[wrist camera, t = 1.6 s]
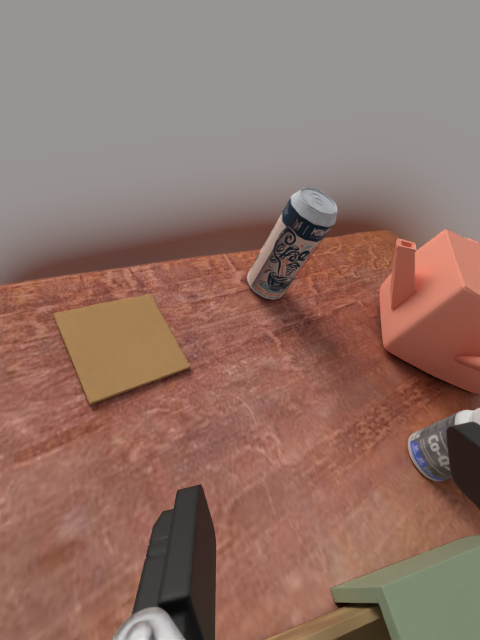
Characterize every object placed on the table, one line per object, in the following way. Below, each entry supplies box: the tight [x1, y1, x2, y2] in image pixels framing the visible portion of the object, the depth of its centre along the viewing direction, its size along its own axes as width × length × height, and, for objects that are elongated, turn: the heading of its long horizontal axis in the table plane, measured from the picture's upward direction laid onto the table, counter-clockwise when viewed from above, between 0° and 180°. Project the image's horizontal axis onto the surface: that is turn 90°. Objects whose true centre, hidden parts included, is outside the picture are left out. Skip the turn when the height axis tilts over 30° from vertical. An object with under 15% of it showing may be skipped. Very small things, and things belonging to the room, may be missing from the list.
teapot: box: [380, 230, 480, 394], centre depth 40 cm, size 20×22×14 cm
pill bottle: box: [408, 408, 480, 481], centre depth 31 cm, size 5×5×8 cm
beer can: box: [247, 187, 338, 299], centre depth 36 cm, size 5×5×12 cm
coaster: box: [53, 294, 190, 405], centre depth 29 cm, size 8×8×1 cm
